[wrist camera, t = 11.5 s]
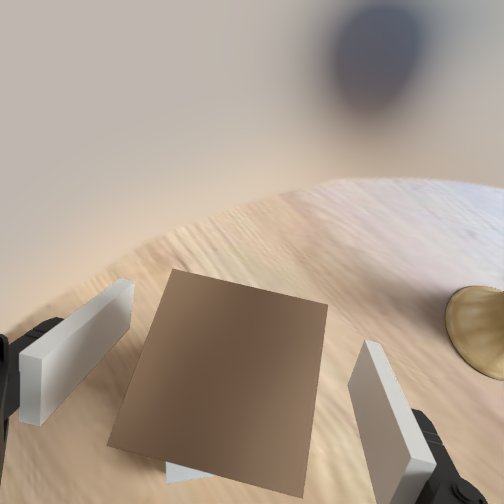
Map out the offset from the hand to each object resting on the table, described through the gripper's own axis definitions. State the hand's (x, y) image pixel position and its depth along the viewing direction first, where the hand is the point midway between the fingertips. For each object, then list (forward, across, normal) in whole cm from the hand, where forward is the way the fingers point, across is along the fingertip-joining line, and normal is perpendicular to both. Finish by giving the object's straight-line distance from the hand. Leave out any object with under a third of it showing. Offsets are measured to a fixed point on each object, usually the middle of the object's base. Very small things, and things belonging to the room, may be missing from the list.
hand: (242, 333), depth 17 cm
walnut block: (+3, 0, -7) cm, 8 cm away
